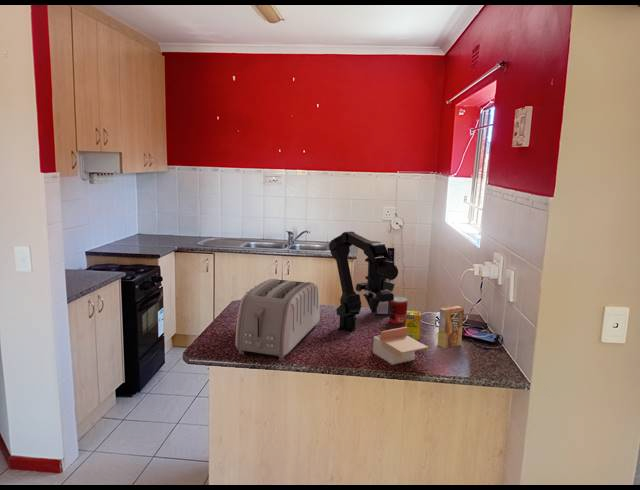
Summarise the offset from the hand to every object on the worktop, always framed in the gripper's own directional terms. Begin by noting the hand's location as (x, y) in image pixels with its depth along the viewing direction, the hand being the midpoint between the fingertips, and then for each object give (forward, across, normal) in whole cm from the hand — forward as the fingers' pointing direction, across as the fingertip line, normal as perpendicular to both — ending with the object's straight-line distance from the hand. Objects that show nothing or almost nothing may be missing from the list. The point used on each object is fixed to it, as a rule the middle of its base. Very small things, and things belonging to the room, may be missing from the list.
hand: (373, 312), depth 188 cm
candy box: (+12, -16, -26) cm, 33 cm away
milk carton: (+12, +28, -24) cm, 39 cm away
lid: (+7, -22, +1) cm, 23 cm away
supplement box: (+12, -4, -17) cm, 21 cm away
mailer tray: (+12, -16, +1) cm, 20 cm away
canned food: (+12, +14, -23) cm, 30 cm away
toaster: (+12, +17, +33) cm, 39 cm away
